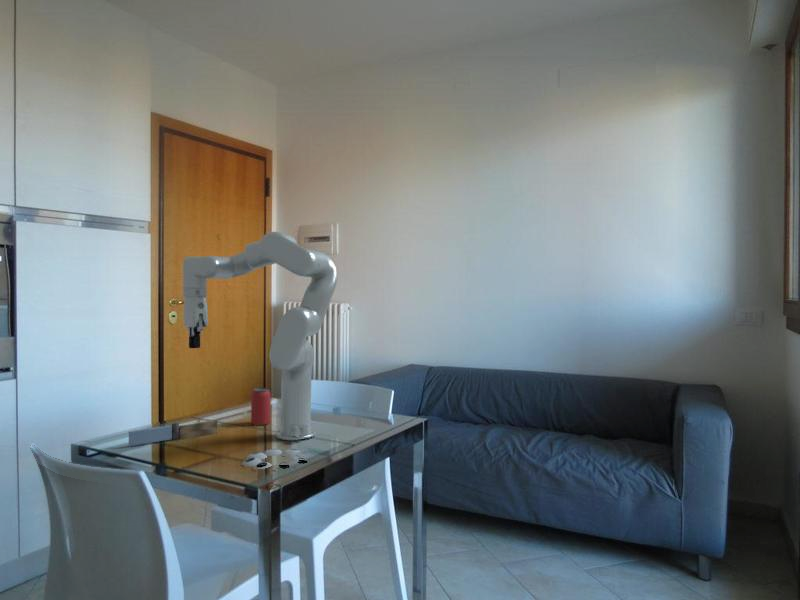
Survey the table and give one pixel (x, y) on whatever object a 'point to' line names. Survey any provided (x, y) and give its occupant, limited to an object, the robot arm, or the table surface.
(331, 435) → the table surface
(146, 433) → the hinged leaf
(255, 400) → the beer can
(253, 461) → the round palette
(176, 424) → the hinge frame
